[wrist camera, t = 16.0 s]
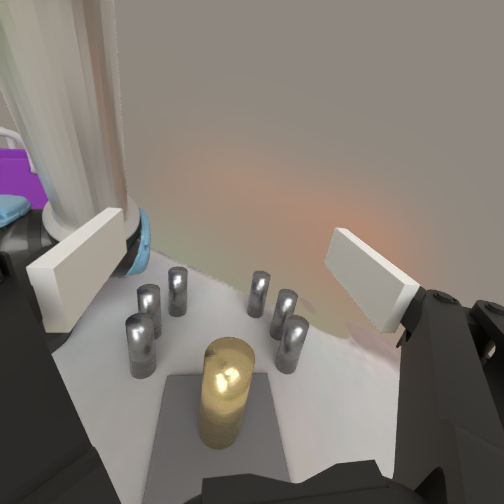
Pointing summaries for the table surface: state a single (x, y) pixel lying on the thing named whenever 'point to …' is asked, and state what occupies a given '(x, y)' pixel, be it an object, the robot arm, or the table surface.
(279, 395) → the table surface
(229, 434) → the brass canister
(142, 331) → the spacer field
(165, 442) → the mat
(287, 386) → the table surface
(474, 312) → the robot arm
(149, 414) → the table surface
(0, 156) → the shopping bag
